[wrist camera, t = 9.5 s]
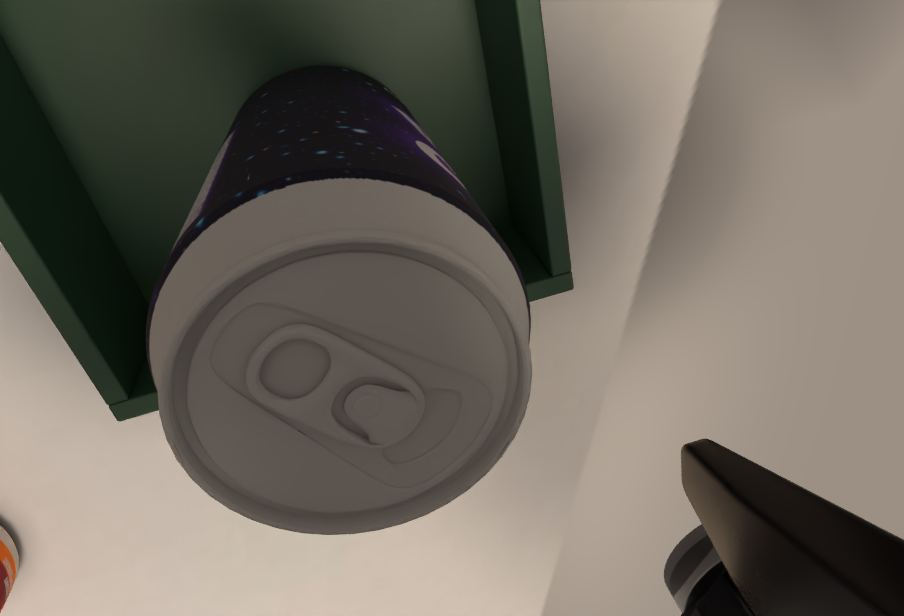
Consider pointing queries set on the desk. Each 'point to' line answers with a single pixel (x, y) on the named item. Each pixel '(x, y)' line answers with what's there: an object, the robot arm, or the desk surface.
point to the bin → (208, 122)
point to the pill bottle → (7, 565)
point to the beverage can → (337, 317)
